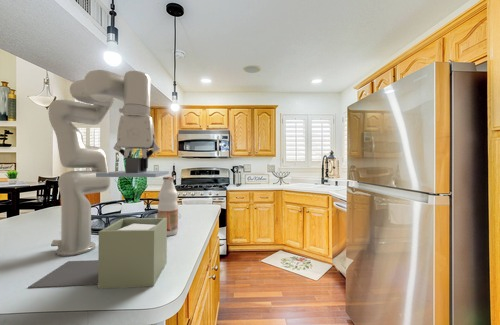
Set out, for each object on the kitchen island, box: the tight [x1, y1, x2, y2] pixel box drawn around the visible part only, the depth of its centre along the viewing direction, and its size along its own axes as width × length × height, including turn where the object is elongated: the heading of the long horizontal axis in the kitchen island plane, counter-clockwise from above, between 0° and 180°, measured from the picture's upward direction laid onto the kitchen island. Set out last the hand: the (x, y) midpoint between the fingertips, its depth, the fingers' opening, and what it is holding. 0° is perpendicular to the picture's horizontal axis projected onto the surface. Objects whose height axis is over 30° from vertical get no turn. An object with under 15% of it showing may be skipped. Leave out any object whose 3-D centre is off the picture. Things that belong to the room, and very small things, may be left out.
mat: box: [27, 259, 98, 289], centre depth 75 cm, size 18×17×1 cm
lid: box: [96, 157, 170, 178], centre depth 74 cm, size 16×16×6 cm
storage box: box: [97, 217, 168, 289], centre depth 74 cm, size 15×15×16 cm
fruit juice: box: [157, 176, 179, 237], centre depth 116 cm, size 9×9×28 cm
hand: (136, 170), depth 74 cm, fingers closed on lid, 3 cm apart
